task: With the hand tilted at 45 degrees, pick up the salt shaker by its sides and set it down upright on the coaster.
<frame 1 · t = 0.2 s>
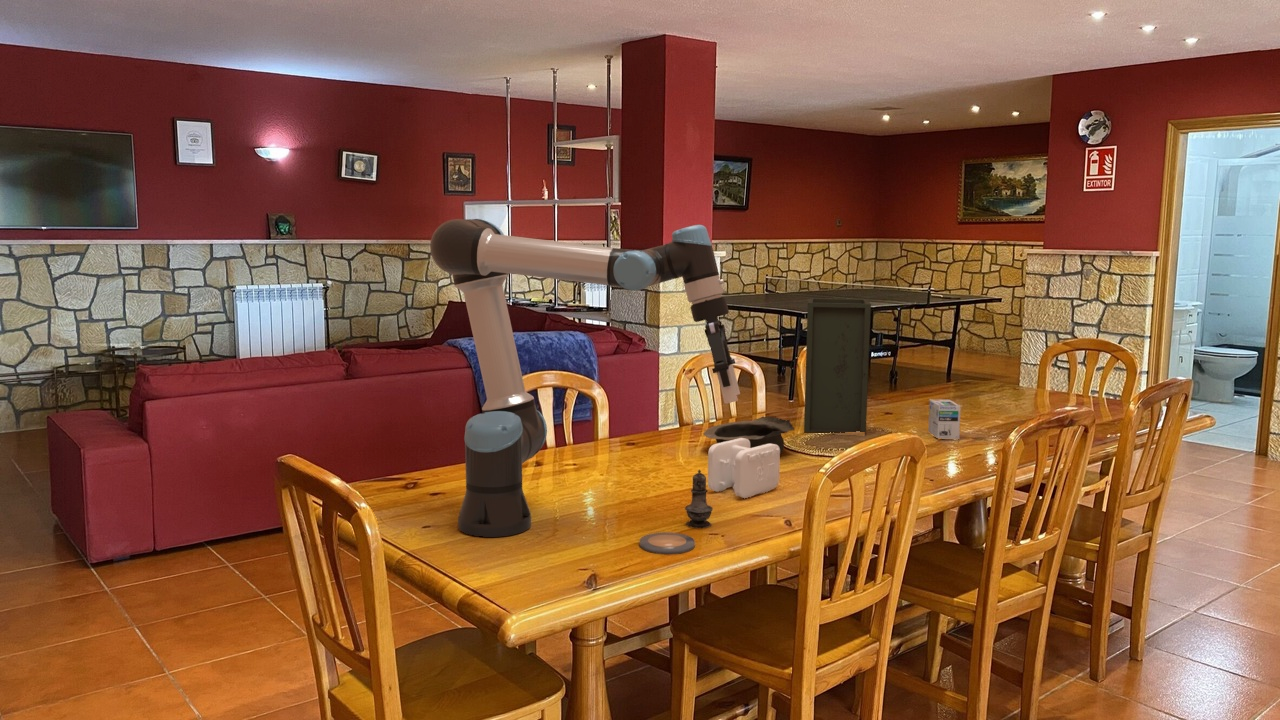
hand: (732, 399, 202), 27 cm above the table, tool tilted 15°, fingers open, 13 cm apart
dark green rectangular pillar: (834, 429, 304), on the table
cable organizer: (744, 492, 232), on the table
light bulb box: (943, 437, 293), on the table
salt shaker: (698, 525, 206), on the table
black brimmed hat: (746, 453, 272), on the table
coaster: (667, 545, 193), on the table
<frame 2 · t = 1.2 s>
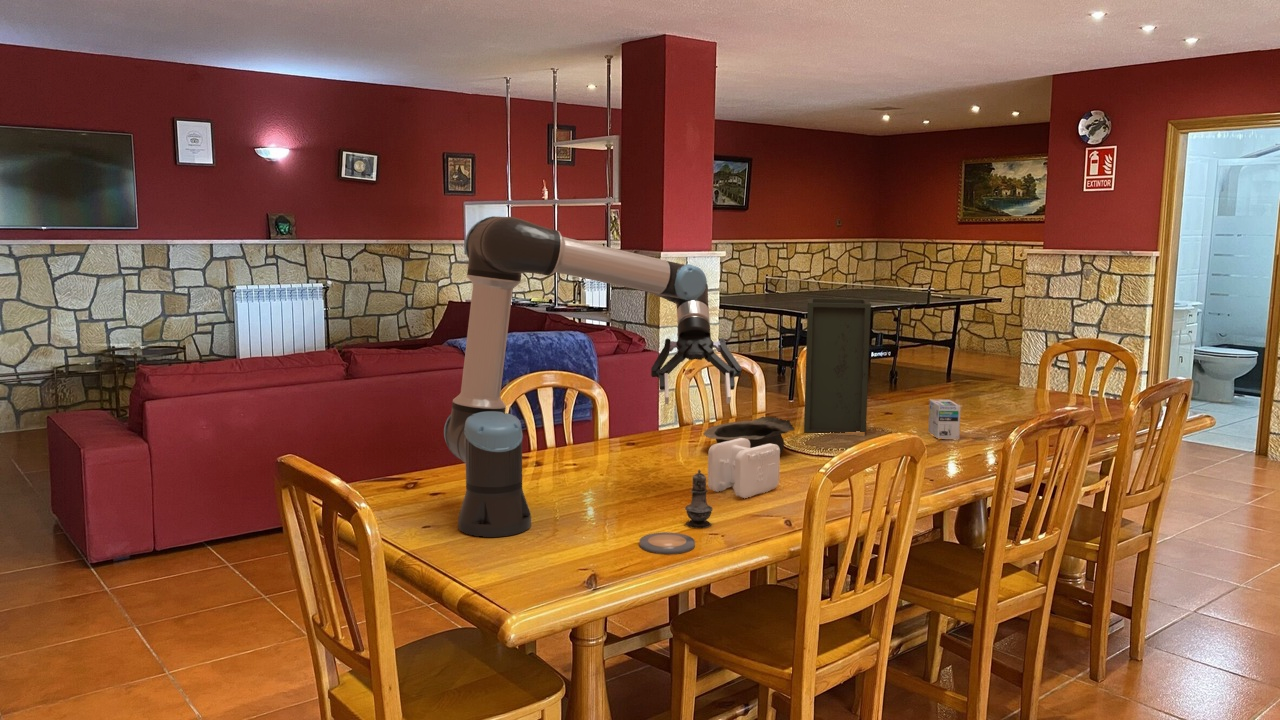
hand: (697, 400, 213), 25 cm above the table, tool tilted 45°, fingers open, 13 cm apart
nothing on the table moved.
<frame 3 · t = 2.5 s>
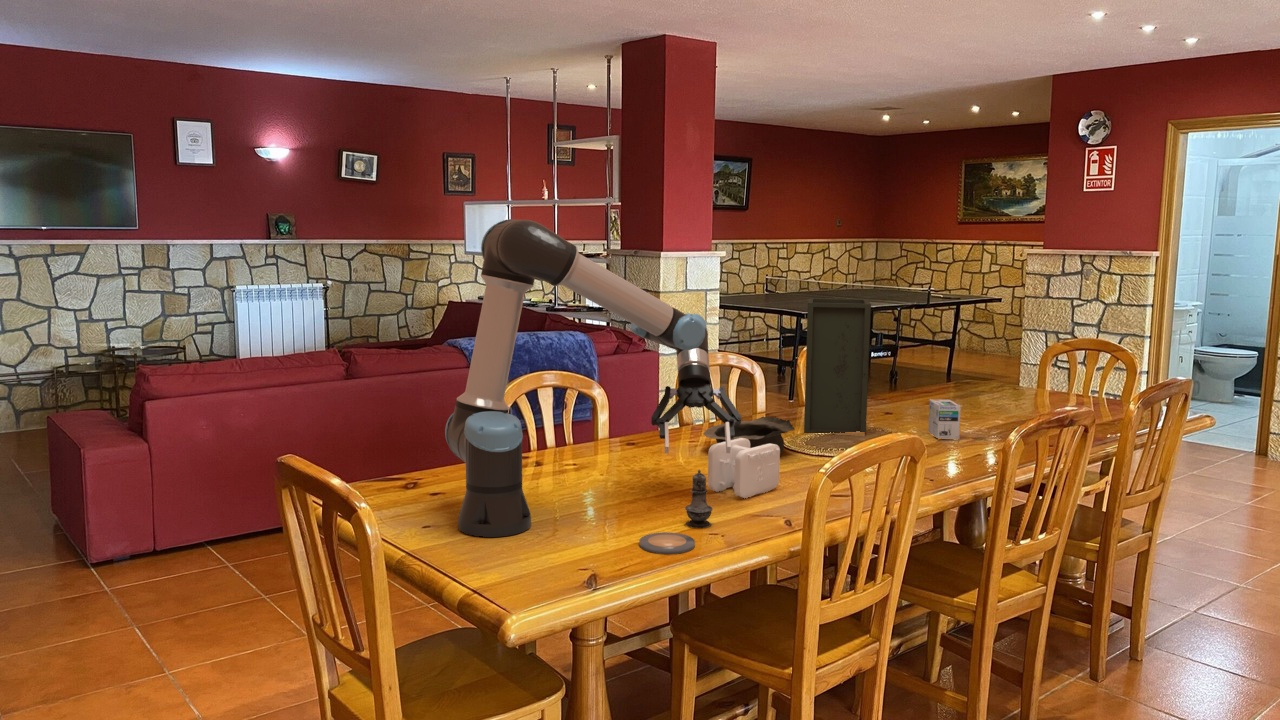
hand: (697, 450, 214), 14 cm above the table, tool tilted 45°, fingers open, 13 cm apart
nothing on the table moved.
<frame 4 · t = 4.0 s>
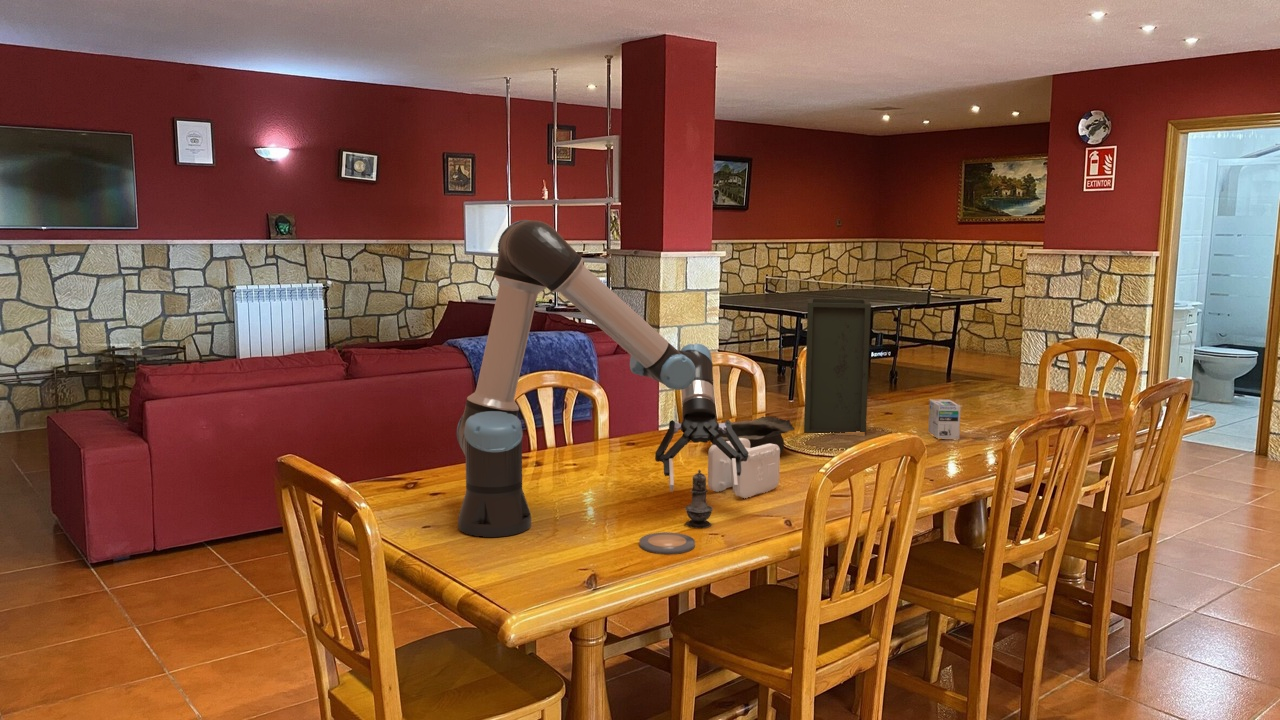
hand: (703, 488, 207), 7 cm above the table, tool tilted 45°, fingers open, 13 cm apart
nothing on the table moved.
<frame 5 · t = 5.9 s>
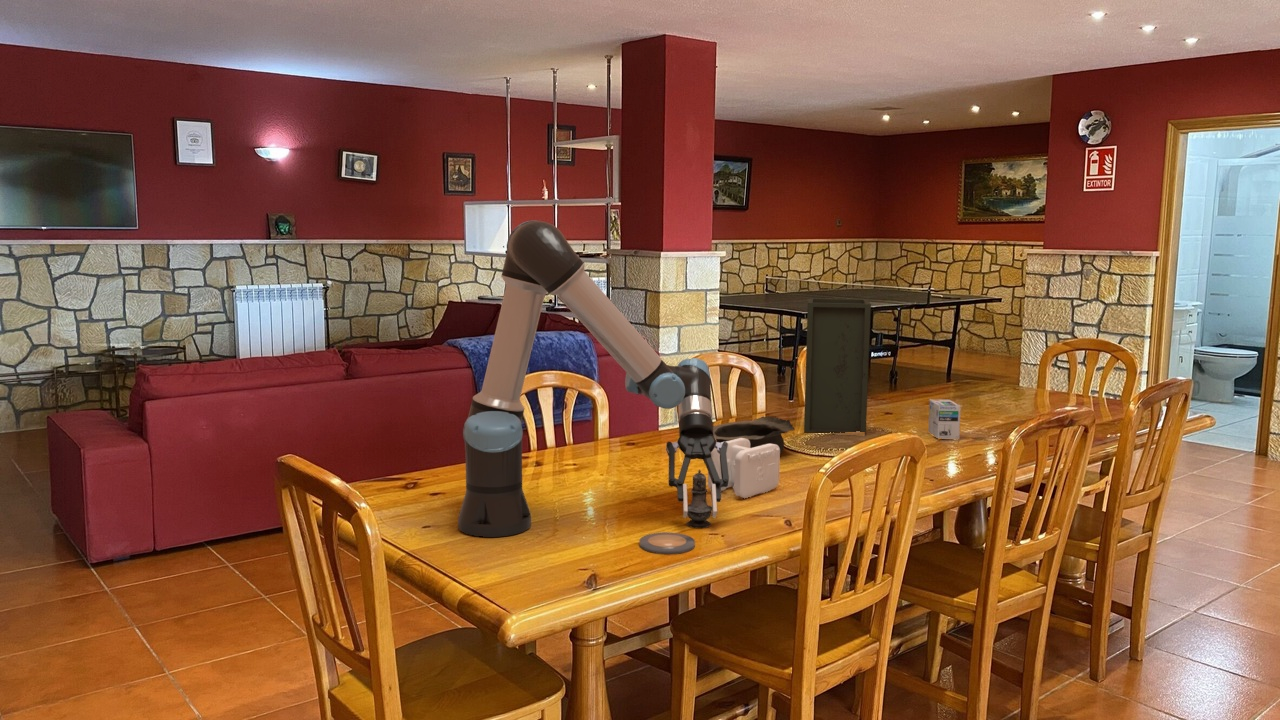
hand: (700, 514, 202), 3 cm above the table, tool tilted 45°, fingers closed on salt shaker, 5 cm apart
salt shaker: (698, 525, 206), on the table, touching gripper
everything else where it was.
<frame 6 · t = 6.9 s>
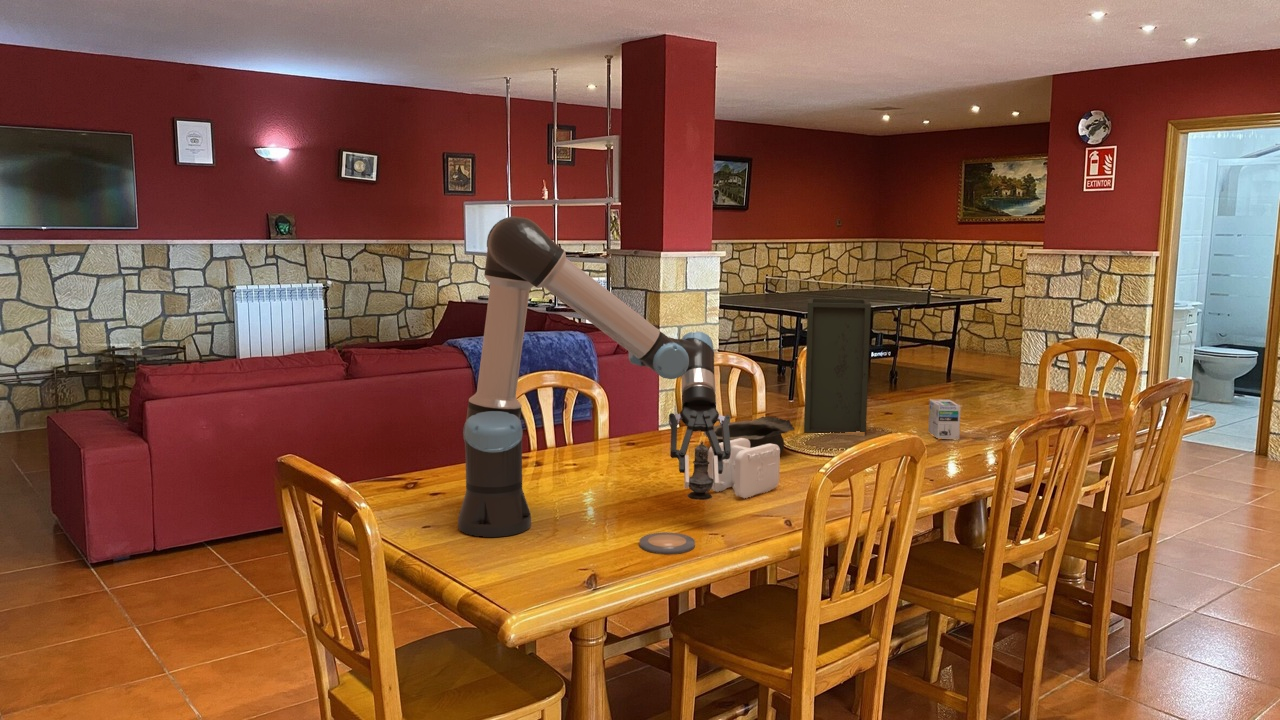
hand: (701, 485, 201), 9 cm above the table, tool tilted 45°, fingers closed on salt shaker, 5 cm apart
salt shaker: (699, 497, 205), point 6 cm above the table, touching gripper
everything else where it was.
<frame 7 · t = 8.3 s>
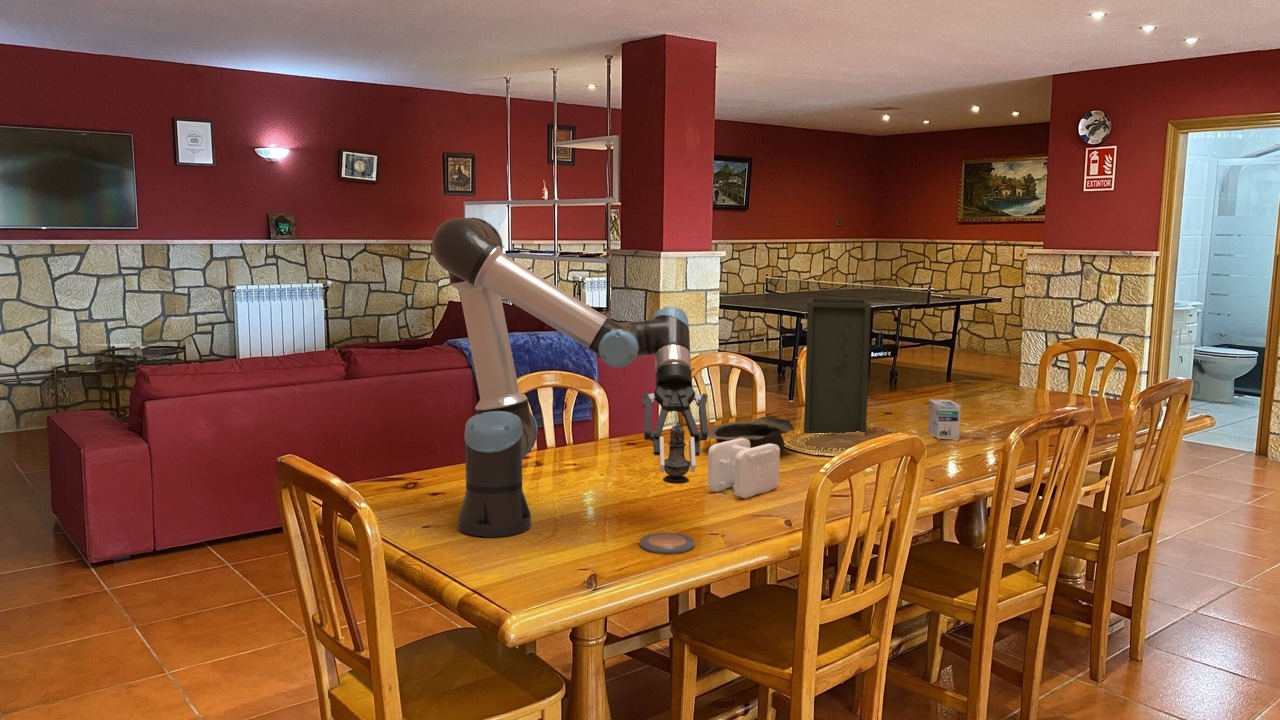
hand: (677, 468, 189), 16 cm above the table, tool tilted 45°, fingers closed on salt shaker, 5 cm apart
salt shaker: (675, 481, 193), point 12 cm above the table, touching gripper
everything else where it was.
when the fingers open (6 cm above the table, at t = 10.8 s): salt shaker drops 1 cm, resting on coaster.
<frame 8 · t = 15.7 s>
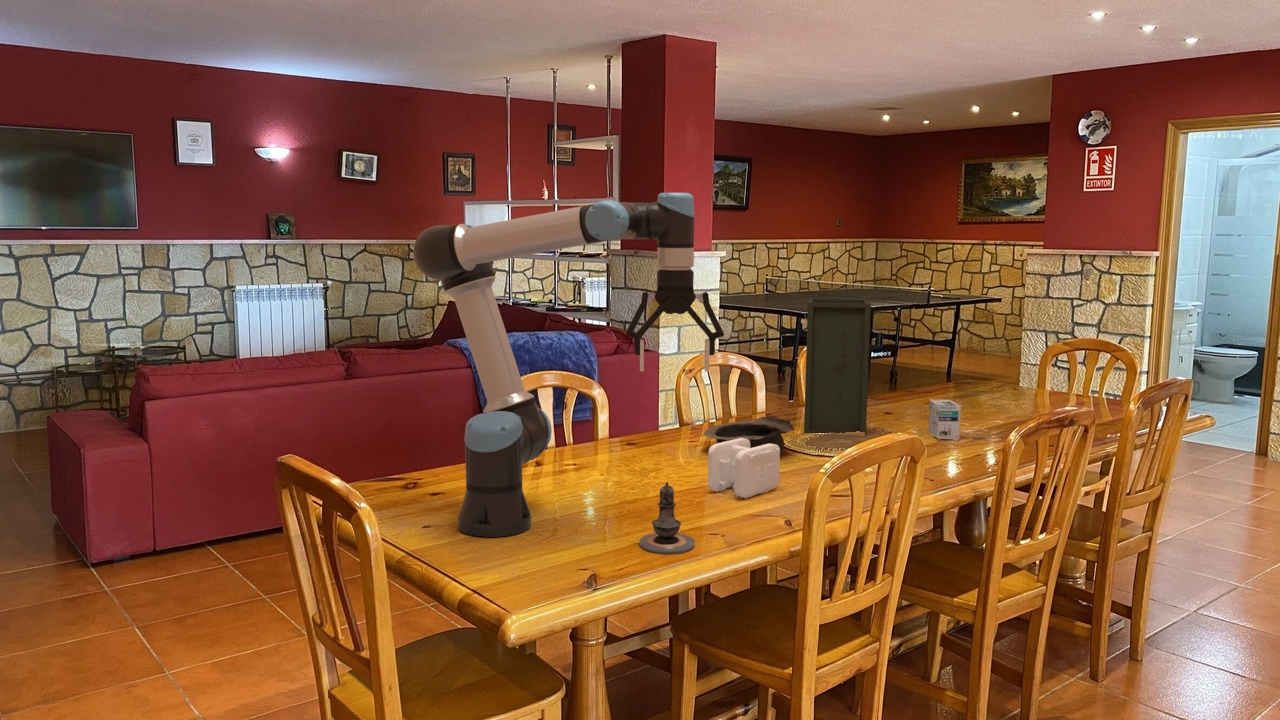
hand: (674, 370, 203), 33 cm above the table, tool pointing down, fingers open, 13 cm apart
salt shaker: (666, 541, 193), point 1 cm above the table, touching coaster
everything else where it was.
at the end: salt shaker 0.2 cm from the coaster (horizontally); salt shaker tilted 0°; the gripper is holding nothing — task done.
